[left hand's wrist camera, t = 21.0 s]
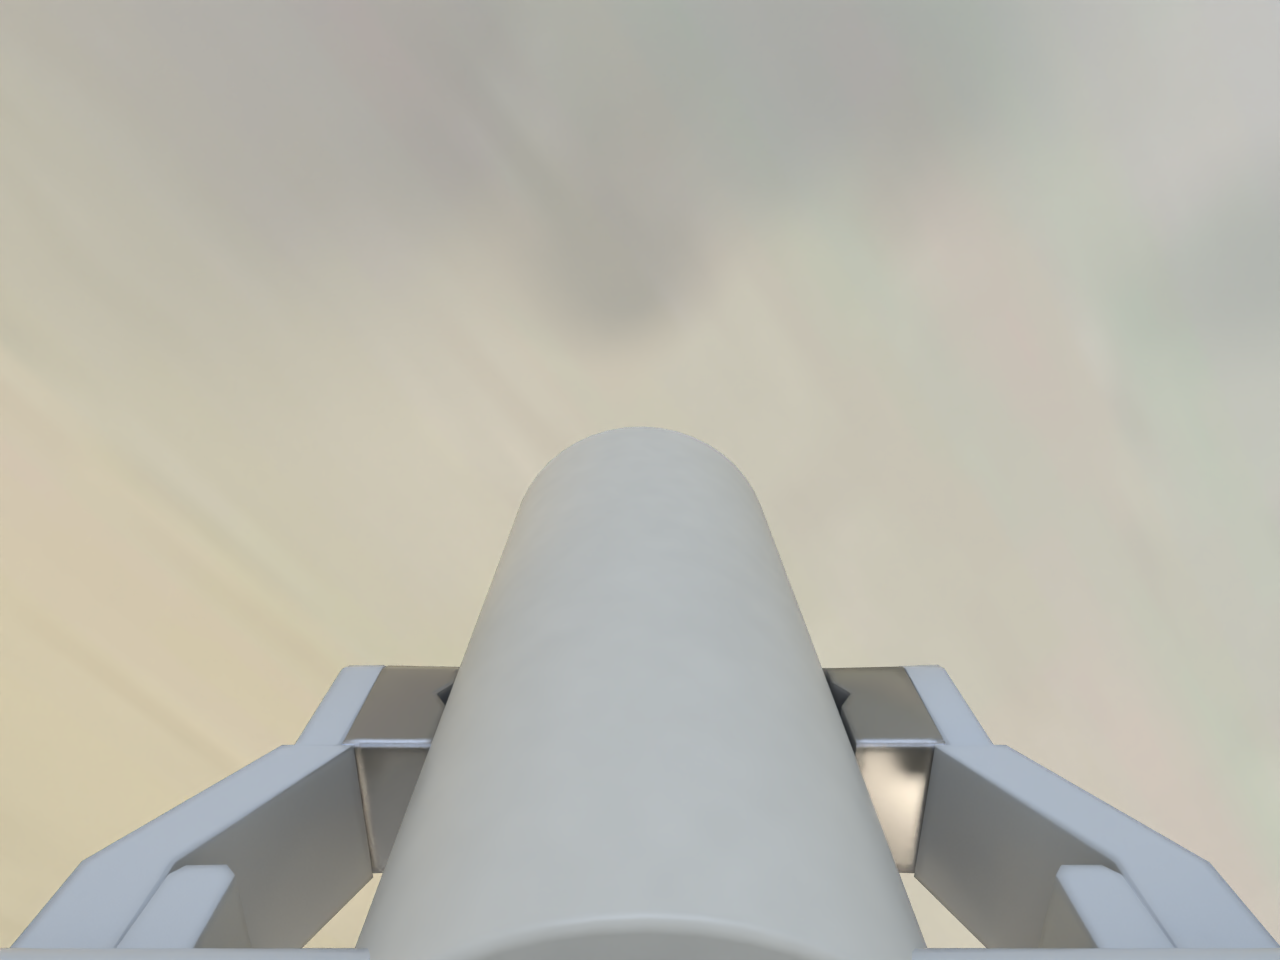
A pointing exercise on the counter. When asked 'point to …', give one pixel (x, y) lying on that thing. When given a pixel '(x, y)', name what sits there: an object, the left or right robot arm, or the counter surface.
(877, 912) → the canister
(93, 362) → the counter surface
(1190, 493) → the counter surface
